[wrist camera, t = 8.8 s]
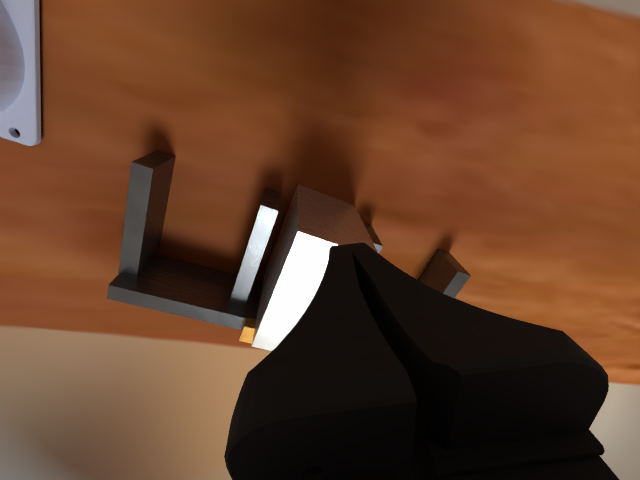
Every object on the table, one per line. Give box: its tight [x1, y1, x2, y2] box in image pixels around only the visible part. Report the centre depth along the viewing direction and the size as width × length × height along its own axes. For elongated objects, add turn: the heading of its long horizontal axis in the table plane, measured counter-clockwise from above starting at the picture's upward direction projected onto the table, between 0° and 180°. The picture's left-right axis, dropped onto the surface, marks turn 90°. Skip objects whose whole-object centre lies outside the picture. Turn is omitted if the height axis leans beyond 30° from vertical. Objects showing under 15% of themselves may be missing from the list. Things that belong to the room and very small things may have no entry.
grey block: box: [252, 184, 379, 351], centre depth 17 cm, size 4×7×7 cm, turn 158°
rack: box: [107, 151, 471, 344], centre depth 19 cm, size 20×8×5 cm, turn 68°
